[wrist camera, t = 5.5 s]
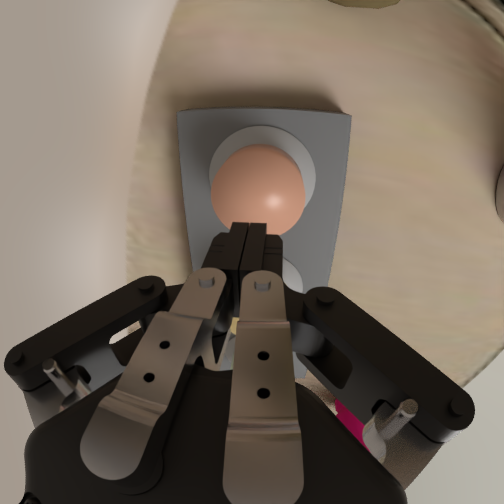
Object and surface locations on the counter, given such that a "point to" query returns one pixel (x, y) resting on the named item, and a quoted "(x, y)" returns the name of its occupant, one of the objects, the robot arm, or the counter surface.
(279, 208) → the terracotta button
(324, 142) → the button panel
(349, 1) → the squeeze bottle
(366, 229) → the counter surface
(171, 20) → the counter surface
